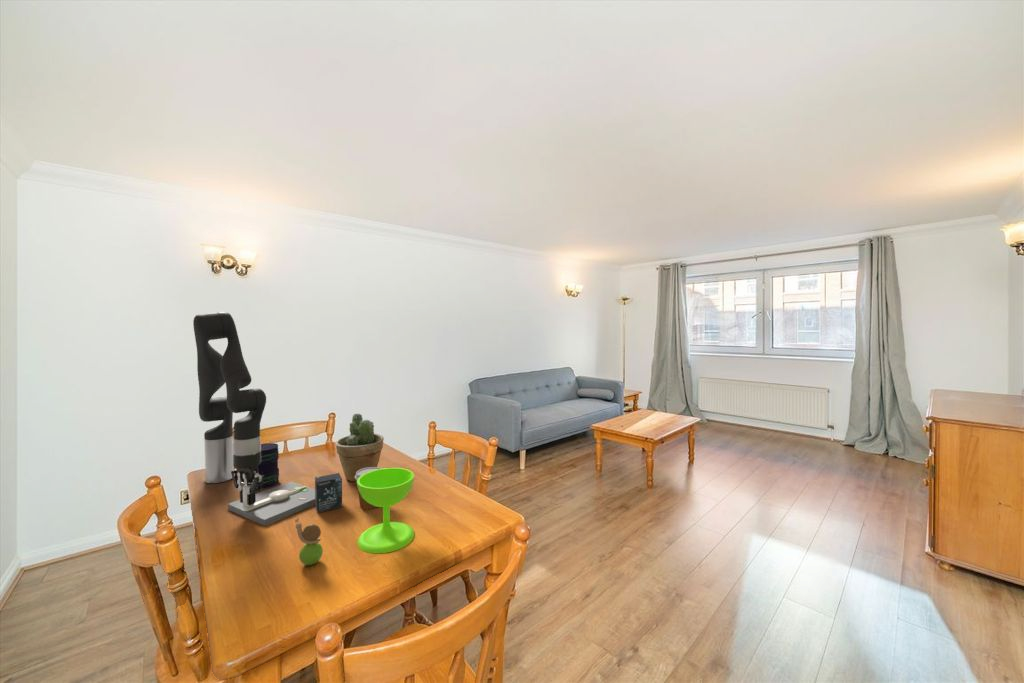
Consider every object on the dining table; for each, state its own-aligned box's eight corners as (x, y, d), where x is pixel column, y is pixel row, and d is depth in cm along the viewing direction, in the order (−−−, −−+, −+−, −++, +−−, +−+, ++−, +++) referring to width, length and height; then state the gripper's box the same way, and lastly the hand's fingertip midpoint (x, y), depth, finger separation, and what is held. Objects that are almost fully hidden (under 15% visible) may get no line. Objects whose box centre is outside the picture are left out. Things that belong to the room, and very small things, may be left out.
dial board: (227, 509, 132) (227, 503, 132) (291, 486, 152) (291, 480, 151) (264, 526, 122) (264, 519, 122) (328, 499, 141) (327, 492, 141)
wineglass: (356, 530, 120) (355, 472, 119) (410, 520, 126) (409, 464, 125) (358, 558, 105) (357, 492, 104) (418, 545, 111) (418, 483, 110)
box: (317, 513, 130) (316, 482, 130) (315, 507, 135) (314, 476, 134) (342, 507, 134) (342, 477, 134) (339, 501, 139) (339, 472, 139)
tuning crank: (301, 485, 147) (300, 464, 146) (311, 489, 144) (311, 467, 144) (238, 509, 128) (238, 485, 128) (248, 513, 125) (248, 488, 125)
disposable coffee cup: (390, 502, 138) (389, 468, 138) (369, 514, 130) (369, 478, 129) (369, 497, 142) (369, 464, 142) (348, 508, 134) (348, 473, 133)
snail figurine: (301, 557, 105) (300, 514, 105) (325, 556, 106) (325, 513, 105) (291, 570, 100) (290, 524, 99) (317, 569, 100) (317, 523, 100)
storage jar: (282, 478, 160) (281, 442, 159) (275, 487, 150) (275, 449, 150) (253, 481, 157) (253, 444, 156) (245, 491, 147) (244, 452, 147)
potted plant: (393, 474, 165) (392, 415, 164) (354, 489, 149) (354, 424, 148) (365, 465, 174) (364, 410, 173) (326, 479, 159) (325, 418, 158)
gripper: (221, 450, 126) (222, 503, 127) (249, 457, 120) (249, 512, 121) (245, 444, 133) (245, 494, 134) (272, 450, 127) (273, 502, 128)
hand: (247, 502), depth 127 cm, fingers closed on tuning crank, 3 cm apart
